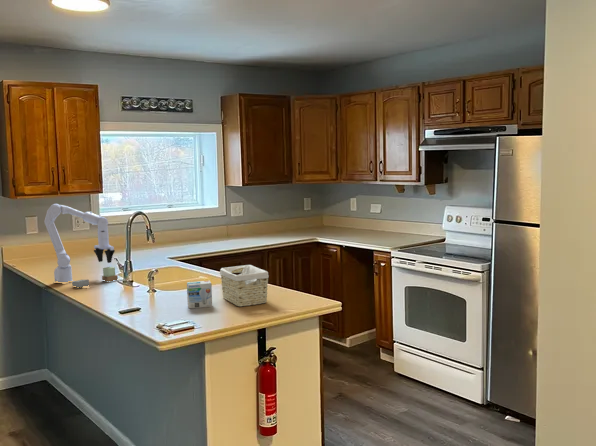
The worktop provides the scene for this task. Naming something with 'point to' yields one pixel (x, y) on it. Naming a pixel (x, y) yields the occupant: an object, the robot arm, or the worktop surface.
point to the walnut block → (110, 278)
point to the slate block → (80, 283)
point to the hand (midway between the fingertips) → (104, 262)
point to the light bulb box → (199, 294)
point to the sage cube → (109, 271)
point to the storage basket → (244, 285)
